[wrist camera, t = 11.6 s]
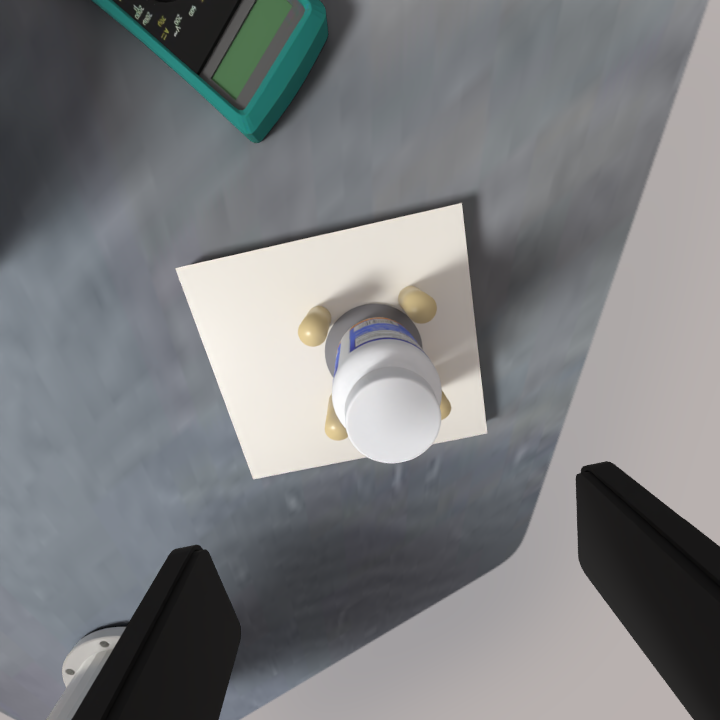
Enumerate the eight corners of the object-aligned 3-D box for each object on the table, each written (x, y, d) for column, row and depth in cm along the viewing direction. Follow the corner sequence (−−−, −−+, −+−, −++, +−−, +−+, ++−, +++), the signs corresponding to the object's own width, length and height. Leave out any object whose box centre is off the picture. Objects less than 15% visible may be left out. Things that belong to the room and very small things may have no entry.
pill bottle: (384, 405, 25) (406, 501, 15) (320, 364, 23) (302, 440, 14) (432, 344, 23) (488, 408, 14) (367, 298, 22) (380, 334, 13)
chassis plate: (480, 423, 27) (510, 465, 22) (258, 467, 28) (236, 518, 23) (454, 205, 22) (486, 193, 17) (186, 266, 23) (137, 272, 18)
